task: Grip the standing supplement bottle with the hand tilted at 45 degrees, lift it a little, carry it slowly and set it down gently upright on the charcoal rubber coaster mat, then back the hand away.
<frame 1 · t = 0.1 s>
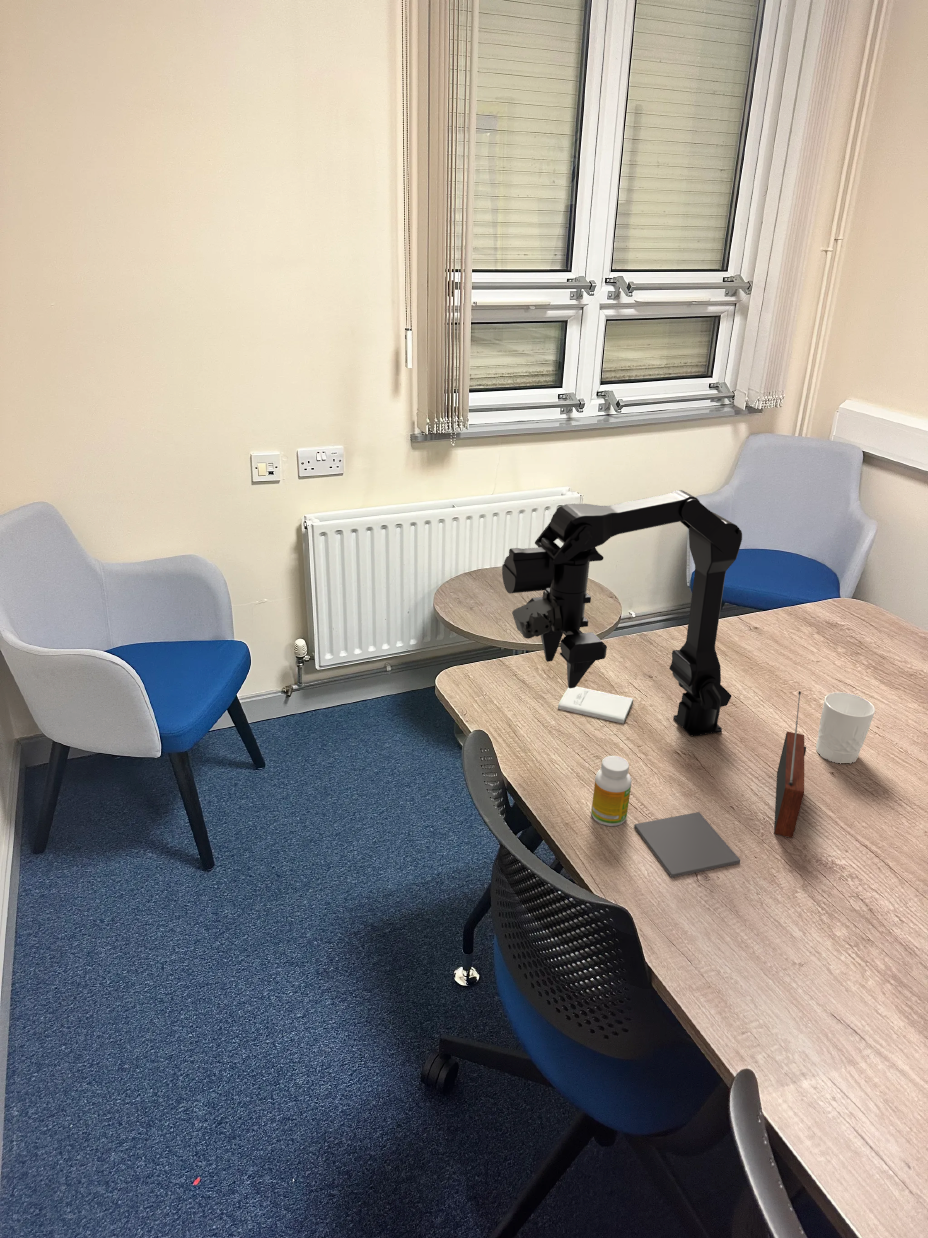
hand: (559, 674, 137), 15 cm above the table, tool pointing down, fingers open, 9 cm apart
white cup: (836, 754, 145), on the table
external hard drive: (595, 708, 157), on the table
radio: (785, 802, 132), on the table
coaster mat: (685, 844, 122), on the table
supplement bottle: (608, 816, 128), on the table
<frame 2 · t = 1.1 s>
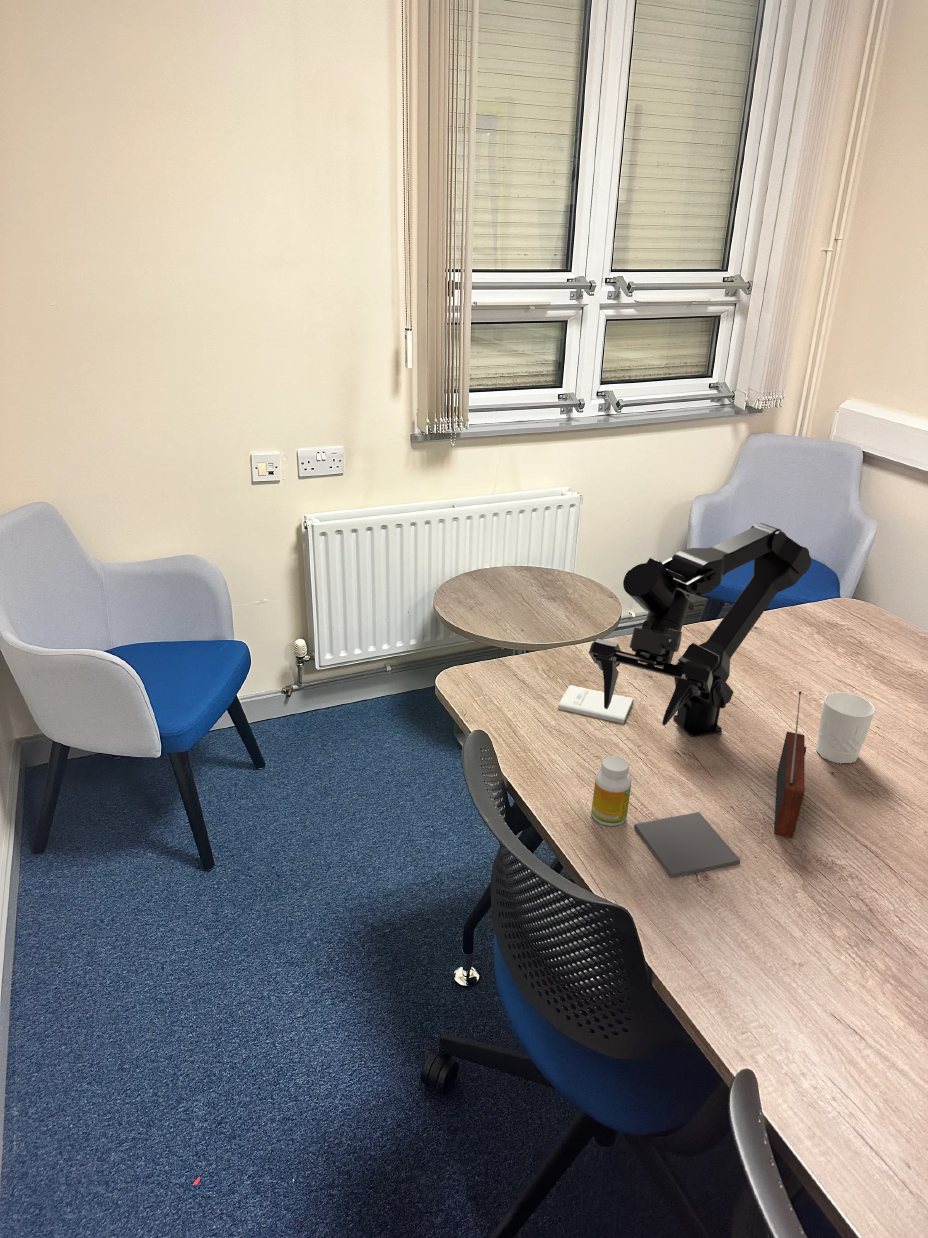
hand: (634, 716, 128), 13 cm above the table, tool tilted 45°, fingers open, 9 cm apart
nothing on the table moved.
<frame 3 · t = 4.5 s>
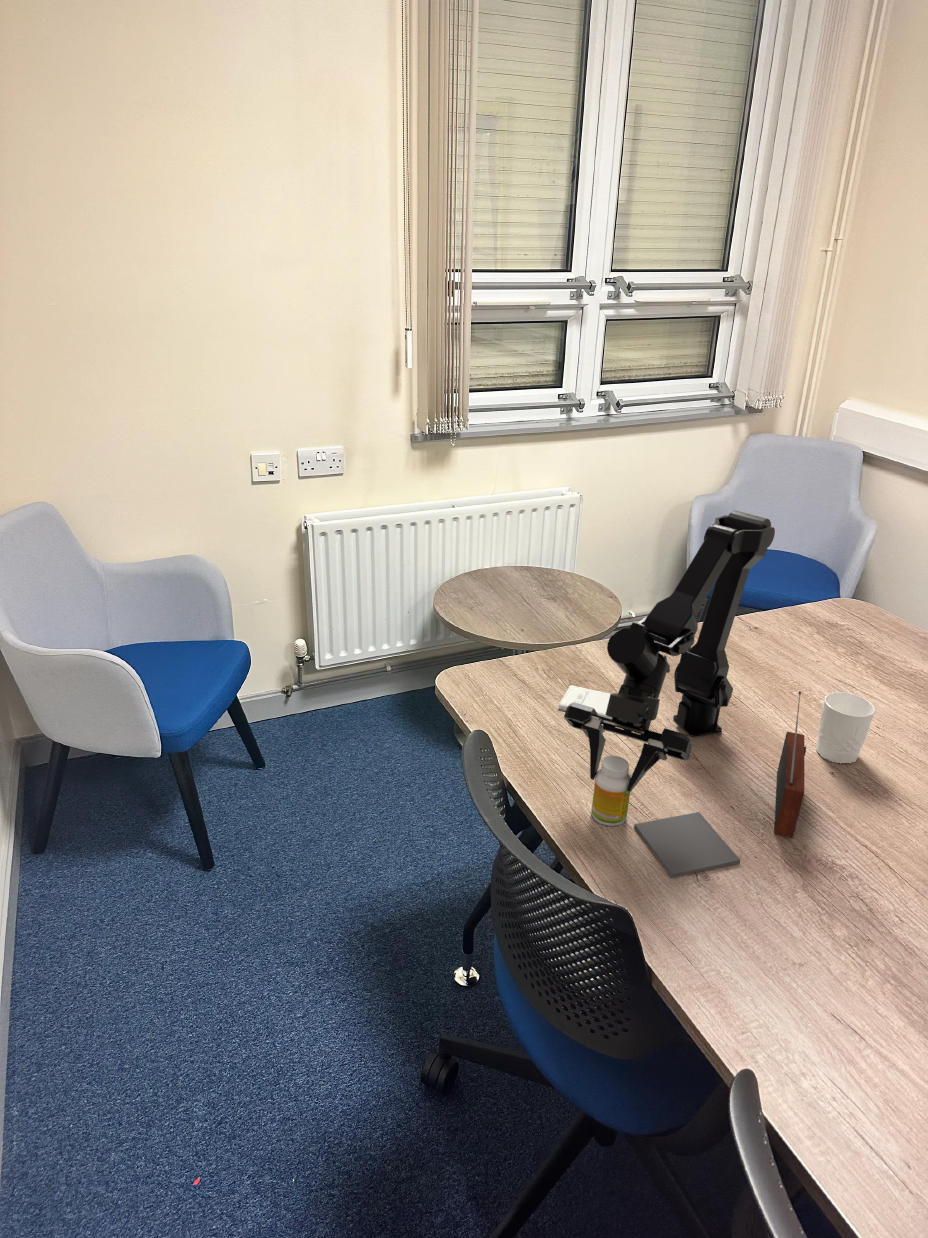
hand: (610, 785, 124), 7 cm above the table, tool tilted 45°, fingers closed on supplement bottle, 5 cm apart
supplement bottle: (608, 816, 128), on the table, touching gripper
everything else where it was.
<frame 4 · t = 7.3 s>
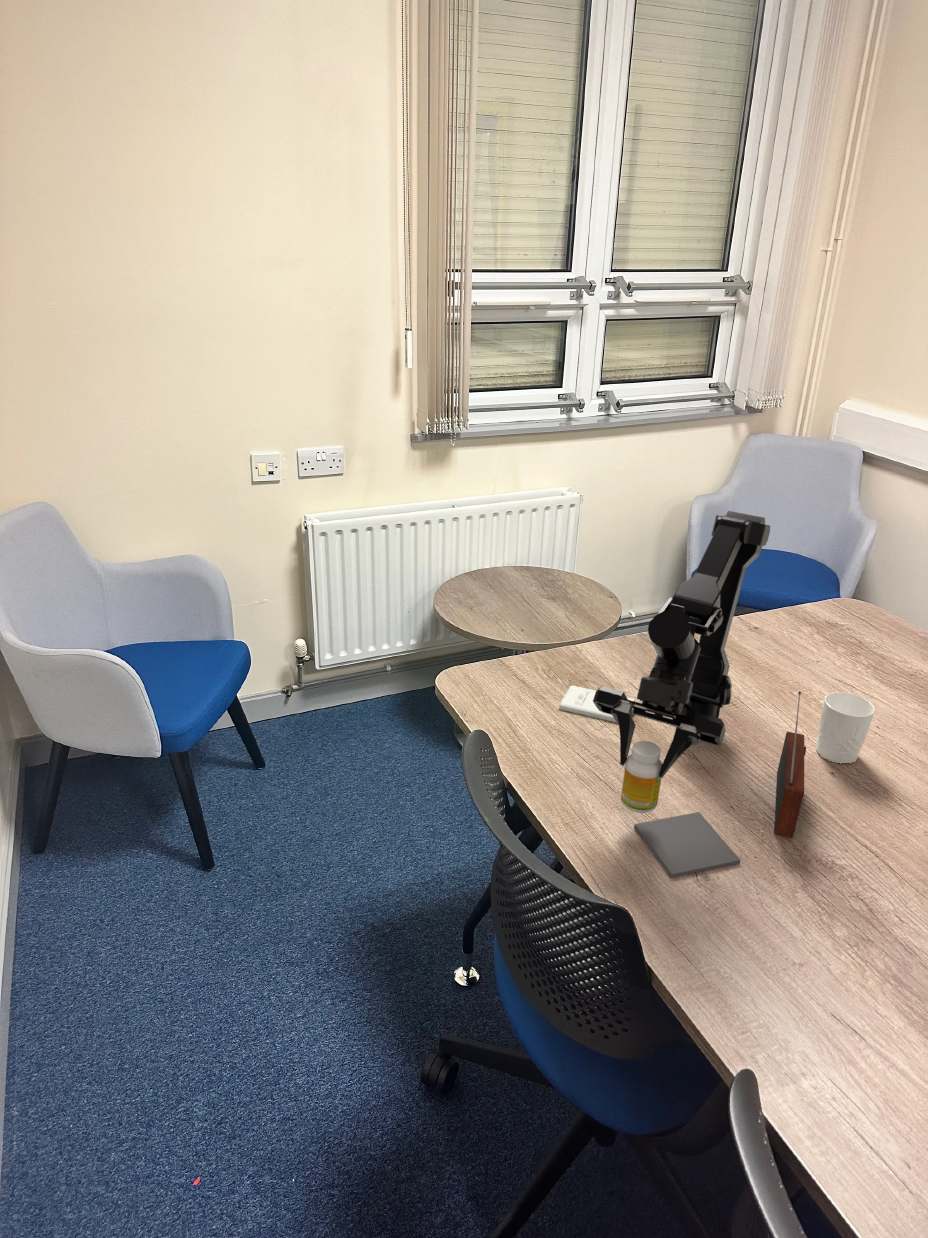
hand: (641, 771, 120), 11 cm above the table, tool tilted 45°, fingers closed on supplement bottle, 5 cm apart
supplement bottle: (638, 803, 124), point 4 cm above the table, touching gripper
everything else where it was.
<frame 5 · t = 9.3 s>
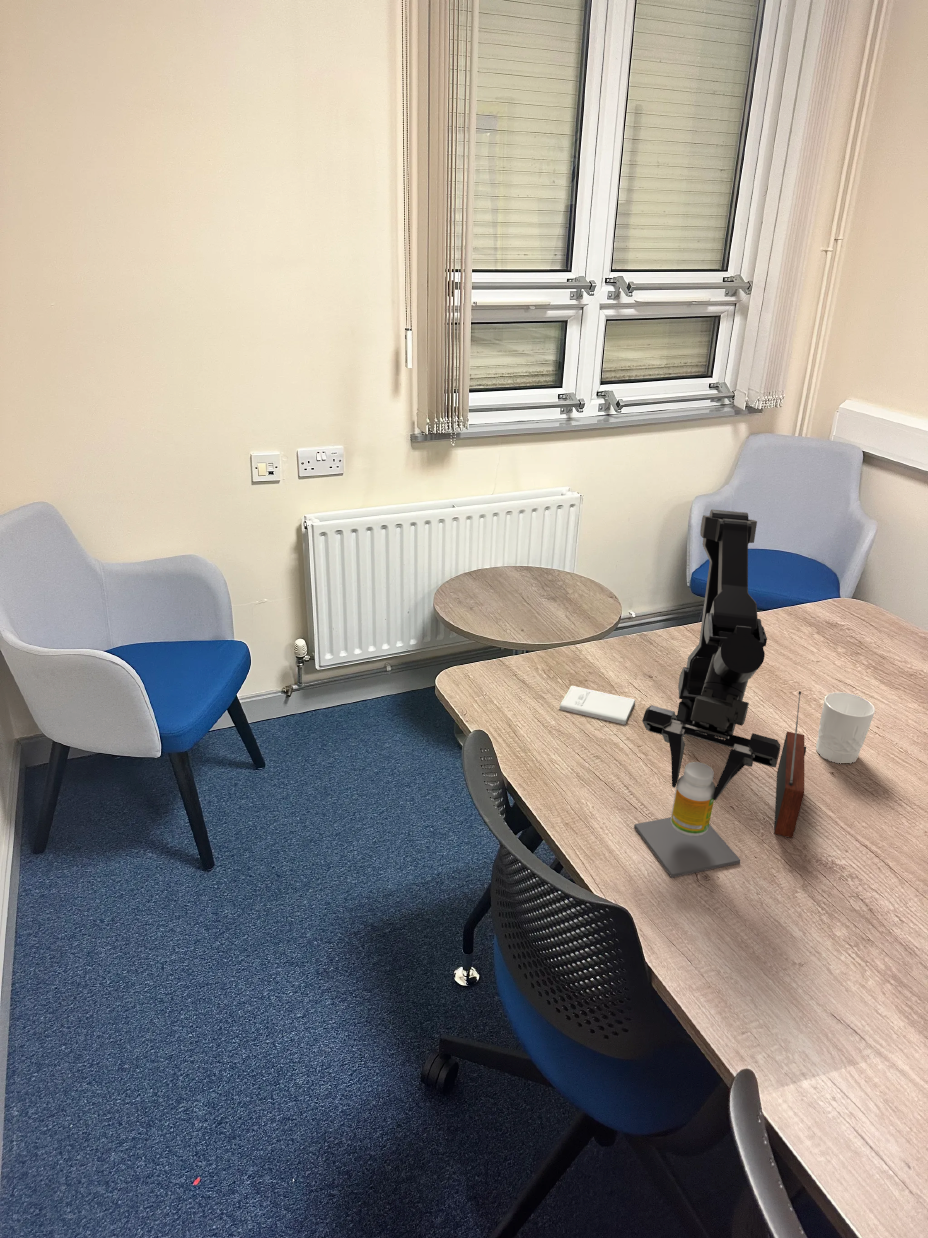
hand: (693, 793, 117), 10 cm above the table, tool tilted 45°, fingers closed on supplement bottle, 5 cm apart
supplement bottle: (688, 826, 121), point 3 cm above the table, touching gripper
everything else where it was.
when the fingers open (8 cm above the table, at t = 10.6 s): supplement bottle stays where it is, resting on coaster mat.
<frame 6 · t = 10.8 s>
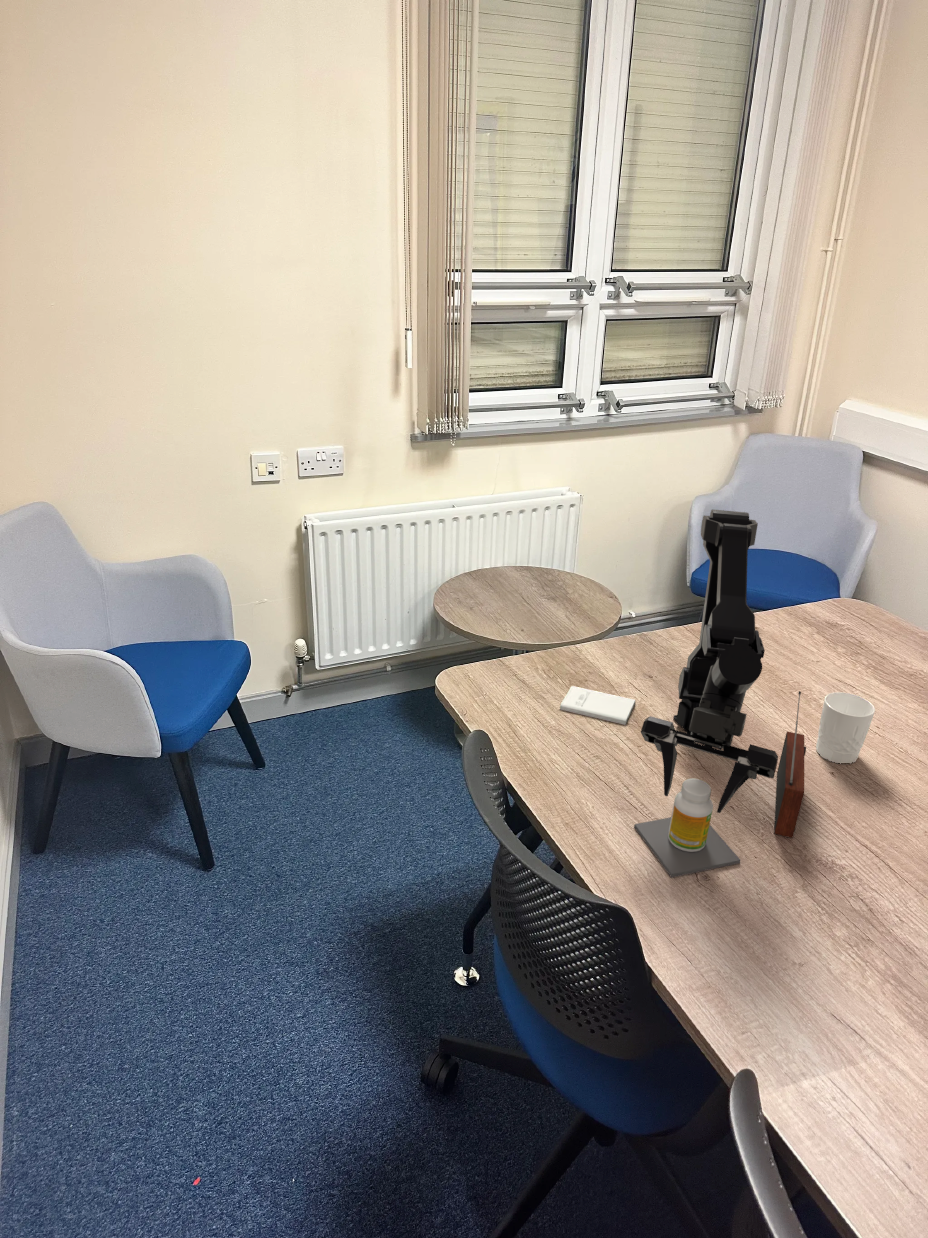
hand: (691, 804, 117), 8 cm above the table, tool tilted 45°, fingers open, 7 cm apart
supplement bottle: (686, 841, 122), resting on coaster mat
everything else where it was.
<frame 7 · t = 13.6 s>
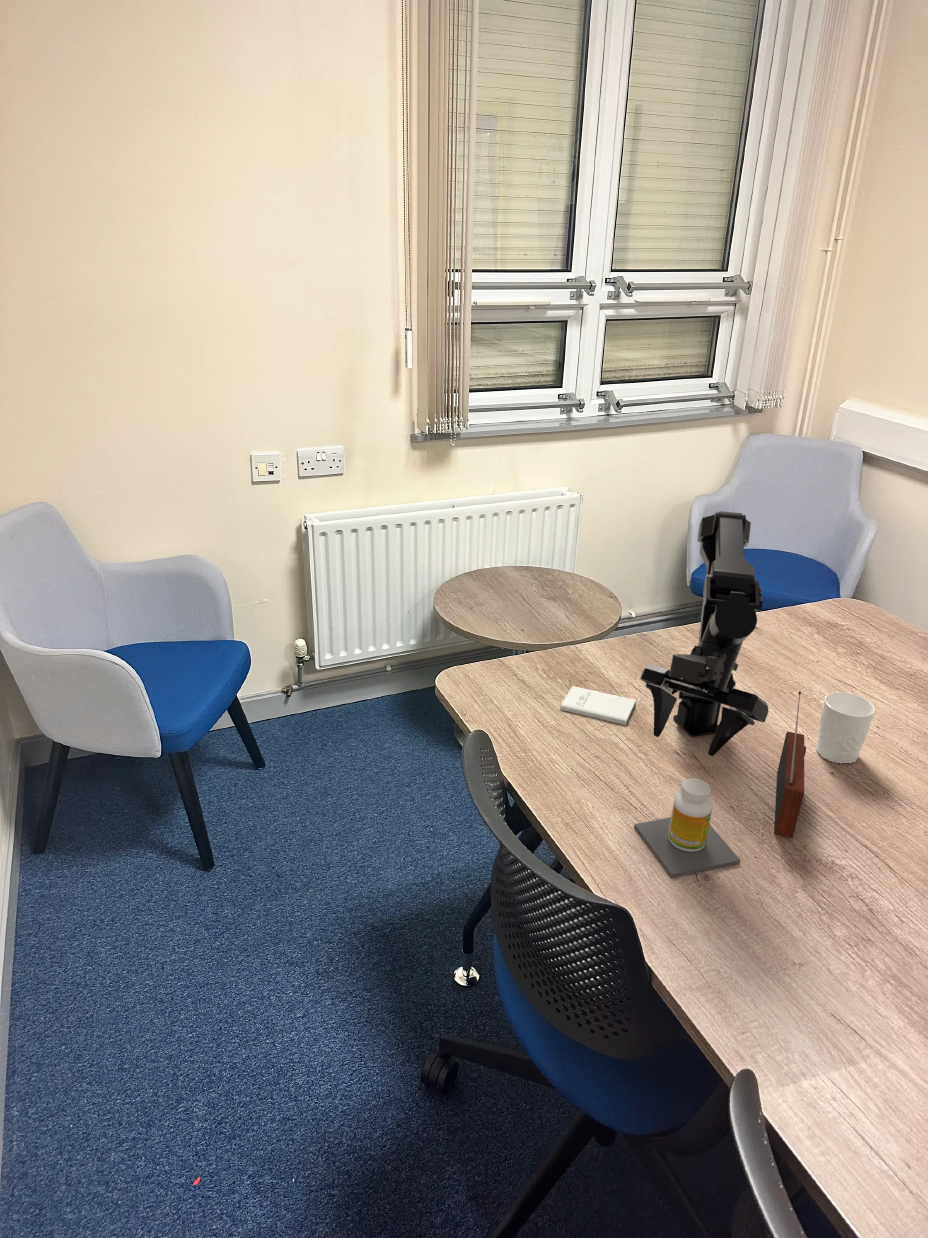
hand: (682, 745, 124), 12 cm above the table, tool tilted 40°, fingers open, 9 cm apart
nothing on the table moved.
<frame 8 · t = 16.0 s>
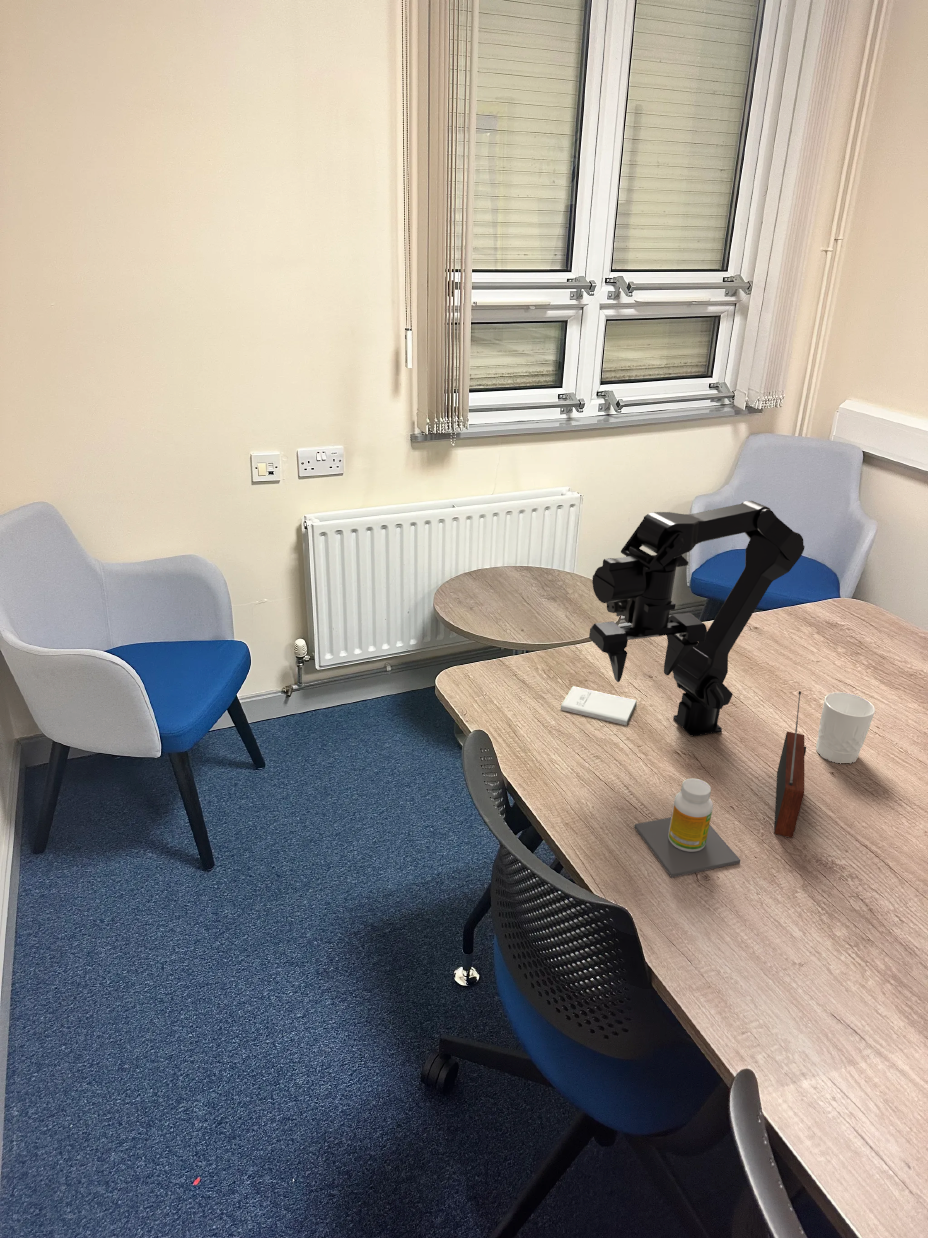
hand: (641, 677, 140), 13 cm above the table, tool pointing down, fingers open, 9 cm apart
nothing on the table moved.
at the end: supplement bottle 0.2 cm off-centre on the coaster mat, point 0.4 cm above the coaster mat's base; supplement bottle tilted 0°; the gripper is holding nothing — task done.
